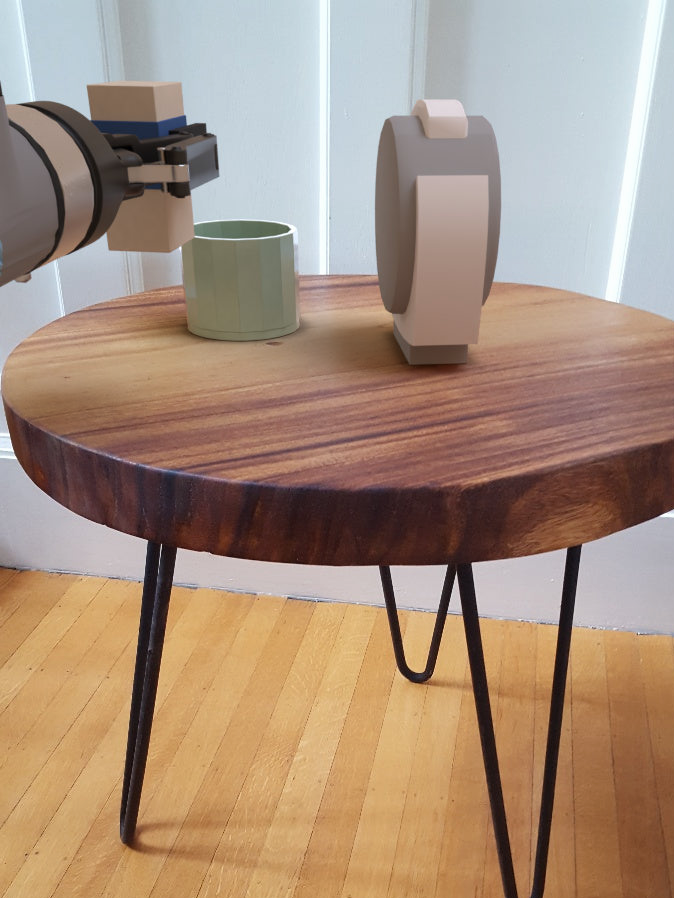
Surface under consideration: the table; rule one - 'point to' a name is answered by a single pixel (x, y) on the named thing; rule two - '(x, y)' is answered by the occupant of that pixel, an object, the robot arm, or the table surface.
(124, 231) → the eraser
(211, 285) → the cup
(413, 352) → the alarm clock
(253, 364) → the table surface
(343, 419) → the table surface
